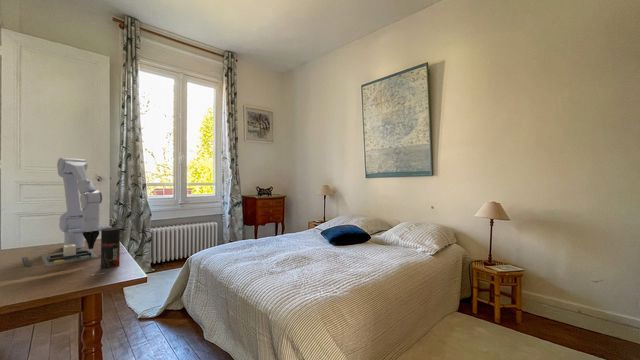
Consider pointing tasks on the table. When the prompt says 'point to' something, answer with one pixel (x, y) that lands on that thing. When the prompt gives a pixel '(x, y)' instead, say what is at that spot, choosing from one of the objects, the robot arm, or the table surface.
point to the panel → (68, 257)
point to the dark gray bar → (26, 261)
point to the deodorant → (110, 248)
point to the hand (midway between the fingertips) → (90, 248)
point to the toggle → (69, 250)
